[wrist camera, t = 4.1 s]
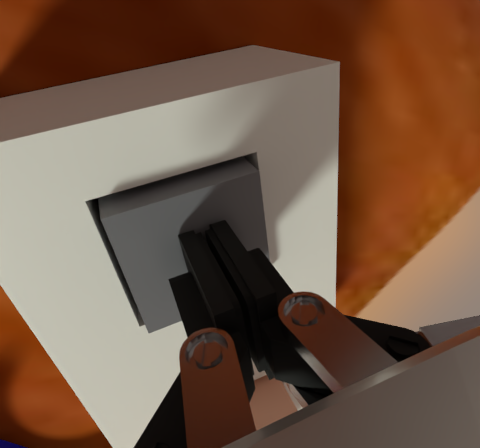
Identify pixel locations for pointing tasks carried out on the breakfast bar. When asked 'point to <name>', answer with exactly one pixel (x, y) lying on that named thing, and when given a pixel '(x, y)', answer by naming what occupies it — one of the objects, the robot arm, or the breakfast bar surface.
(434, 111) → the breakfast bar surface
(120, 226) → the charcoal plunger
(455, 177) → the breakfast bar surface
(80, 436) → the breakfast bar surface
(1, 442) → the blue curved piece
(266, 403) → the dusty pink cube
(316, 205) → the block
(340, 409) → the robot arm
